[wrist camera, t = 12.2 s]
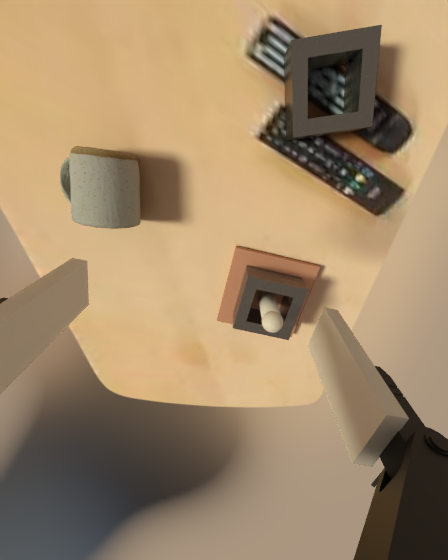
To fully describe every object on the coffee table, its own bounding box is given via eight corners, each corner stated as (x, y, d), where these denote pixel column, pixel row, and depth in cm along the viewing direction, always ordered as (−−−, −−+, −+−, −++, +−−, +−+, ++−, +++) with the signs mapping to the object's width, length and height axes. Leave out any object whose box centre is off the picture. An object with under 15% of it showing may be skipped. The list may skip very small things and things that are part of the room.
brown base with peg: (236, 245, 36) (236, 270, 28) (318, 265, 37) (343, 294, 28) (217, 317, 41) (213, 356, 33) (290, 333, 42) (304, 375, 33)
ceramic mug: (147, 154, 32) (121, 150, 25) (148, 220, 35) (126, 234, 28) (62, 145, 32) (13, 138, 25) (71, 212, 35) (30, 223, 28)
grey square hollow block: (284, 56, 28) (291, 40, 24) (361, 43, 27) (381, 24, 23) (286, 140, 31) (292, 137, 27) (355, 131, 30) (372, 126, 27)
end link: (246, 265, 36) (248, 276, 33) (301, 277, 37) (308, 289, 33) (233, 313, 39) (232, 328, 36) (283, 324, 40) (288, 340, 36)
